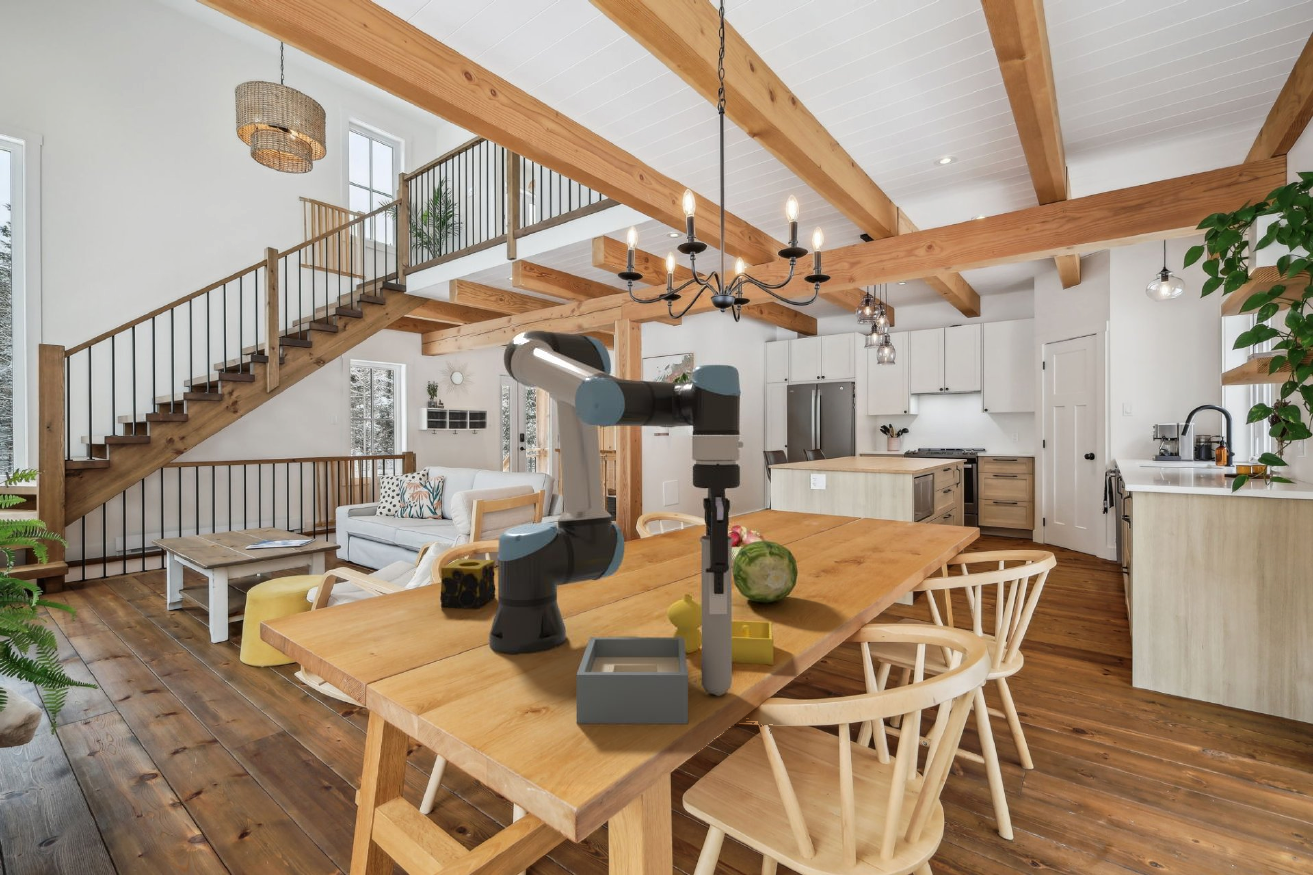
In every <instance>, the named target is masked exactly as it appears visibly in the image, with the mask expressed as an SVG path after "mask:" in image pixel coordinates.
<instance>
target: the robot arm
mask: <svg viewBox="0 0 1313 875" xmlns="http://www.w3.org/2000/svg"><path fill="white" fill-rule="evenodd" d="M503 364H504V367H505V370H506V372H507V373H508V376H510V377H511V378H512V380H514V381H516V382H517V383H519V384H521V385H523V386H525V387H528V388H529V387H530V388H536V387H538V388H539V389H541V390H543V391H545V392H546V393H549V397H550V398H551V399H553V401H555V403H556V407H557V420H558V421H557V422H558V436H559V452H560V454H559V455H560V464H561V465H560V467H561V468H560V469H561V483H562V496H563V513H562V514H561V515H560V516H559V517H558V519H557V524H555V523H552V522H536V523H527V524H522V525H521V524H520V525H518V526H515V527H511V528H508V529H507V530H505V531H503V532H502V534H501V535H500V536H499V538H498V549H497V554H496V558H497V578H498V579H497V582H498V583H497V584H498V585H497V588H498V589H497V590H498V591H497V593H498V594H497V595H498V596H497V599H498V600H497V601H498V603H497V608H496V611H495V614H494V615H495V616H494V619H493V621H492V625H491V627H490V631H489V633H488V637H489V638H488V640H489V648H490V649H491V650H493V651H494V652H498V653H502V654H508V655H527V654H529V655H530V654H536V653H537V654H538V653H542V652H547V651H550V650H553V649H556V648H559V647H561V646H562V645H563V644H564V643H565V642H566V640H567V639H566V638H567V637H566V636H567V635H566V633H567V630H566V625H565V622H564V620H563V617H562V614H561V610H560V607H559V604H558V586H563V585H570V584H576V583H580V582H588V581H598V580H600V579H602V578H607V577H610V576H612V575H614V574H615V573H617V571H618V569H619V567H620V566H621V564H622V562H623V559H624V555H625V545H626V544H625V538H624V534H623V532H622V530H621V527H619V525H618V524H615V523H614V522H612V521H613V520H612V514H610V513H609V512H608V511H607V510H606V509H605V508H604V494H603V480H602V479H603V478H602V467H601V466H602V464H601V452H600V441H599V440H600V439H599V427H601V428H602V427H603V428H605V427H661V428H669V429H670V428H675V427H690V426H691V427H692V440H691V442H692V444H691V445H692V447H691V449H692V450H691V451H692V452H691V454H692V456H691V458H692V460H693V461H695V463H694V464H693V466H692V486H694V487H695V488H698V489H707V497H705V498H703V499H702V502H703V503H702V504H703V510H704V523H705V536H707V535H708V536H710V568H706V573H709V614H727V571H728V569H729V565H728V536H729V525H730V522H729V519H730V518H729V513H730V509H731V500H730V499H728V498H727V497H726V489H736V488H738V487H739V486H740V485H741V466H740V465H739V464H738V463H737V461H739V460H740V448H742V449H743V447H744V442H743V441H740V434H741V432H740V427H741V426H740V423H741V422H740V421H741V420H740V419H741V417H740V416H741V415H740V413H741V412H740V410H741V409H740V407H741V406H740V405H741V394H742V393H741V385H740V374H739V370H738V369H737V367H735V366H732V365H727V364H706V365H705V364H703V365H698V366H695V368H693V370H692V376H691V381H686V382H685V381H684V382H667V381H653V380H652V381H650V380H649V381H647V380H634V379H632V380H631V379H625V378H623V379H622V378H619V377H616V376H613V375H612V374H611V371H612V365H611V364H612V363H611V357H610V354H609V351H608V348H607V347H606V345H605V344H604V343H603V342H602V341H601V340H600V339H598V338H596V337H595V336H594V337H592V336H587V335H584V334H573V333H571V334H570V333H562V332H553V331H545V330H529V331H524V332H522V333H520V334H518V335H516V336H514V337H512V339H511V341H509V343H508V344H507V345H506V348H505V349H504V354H503ZM598 426H599V427H598ZM557 526H558V527H557Z"/></svg>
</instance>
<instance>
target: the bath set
mask: <svg viewBox="0 0 1313 875" xmlns="http://www.w3.org/2000/svg"><path fill="white" fill-rule="evenodd" d="M666 612H667V613H666V615H667V618H668V620H669V622H670V623H671V624H672V626H674V627H675V628H676V630H675V631H674V632H673V635H672V637H684V641H685V651H686V654H690V653H691V654H692V653H694V652H696V651H698V649H699V648H701V647H702V631H700V630H699V628H701V627H702V602H699V601H698V600H695V599H693V594H691V593H684V594H682V599H679V600H677V601H675V602H673V603H672V604H671V605H670V606H669V607H668V609H667V611H666ZM732 663H737V664H738V663H740V664H759V665H767V666H774V633H773V625H772V621H755V620H754V621H753V620H735V619H734V620H733V619H732Z"/></svg>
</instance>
